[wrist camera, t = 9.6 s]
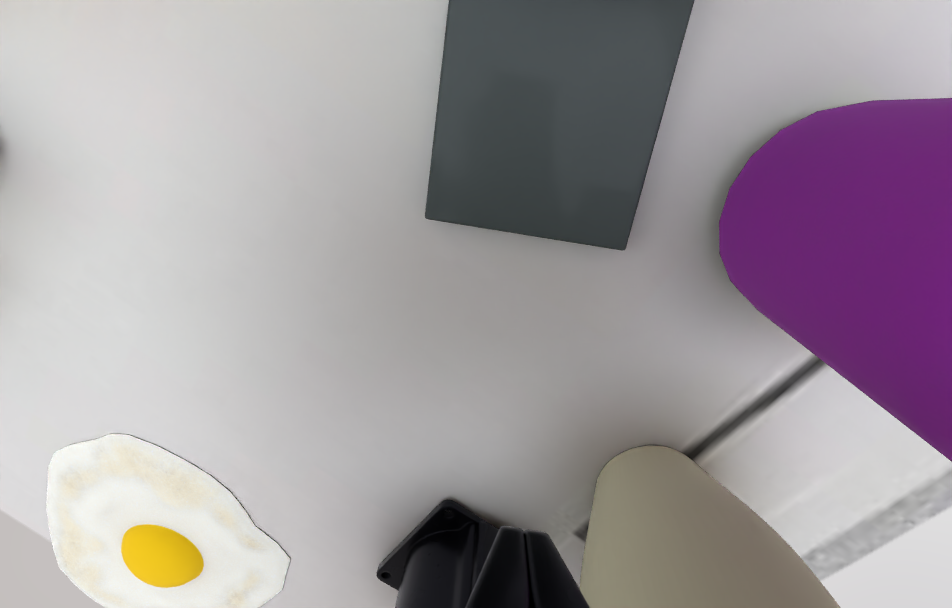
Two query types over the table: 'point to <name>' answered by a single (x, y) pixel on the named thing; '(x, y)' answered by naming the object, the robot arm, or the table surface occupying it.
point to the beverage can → (857, 249)
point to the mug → (685, 542)
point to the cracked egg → (155, 530)
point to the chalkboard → (551, 114)
